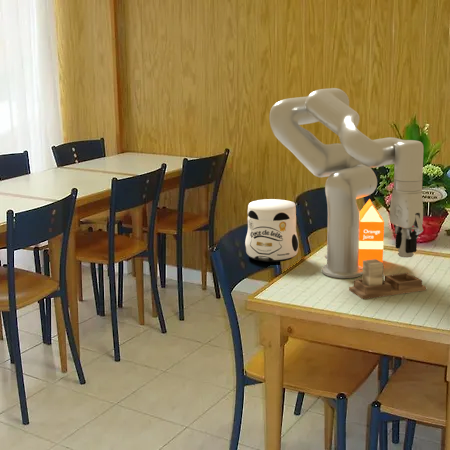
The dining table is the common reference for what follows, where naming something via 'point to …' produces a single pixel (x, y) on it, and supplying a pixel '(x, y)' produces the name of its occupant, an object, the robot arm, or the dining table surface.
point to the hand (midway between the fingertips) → (405, 249)
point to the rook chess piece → (404, 245)
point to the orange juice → (370, 234)
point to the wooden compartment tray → (383, 282)
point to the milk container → (271, 230)
